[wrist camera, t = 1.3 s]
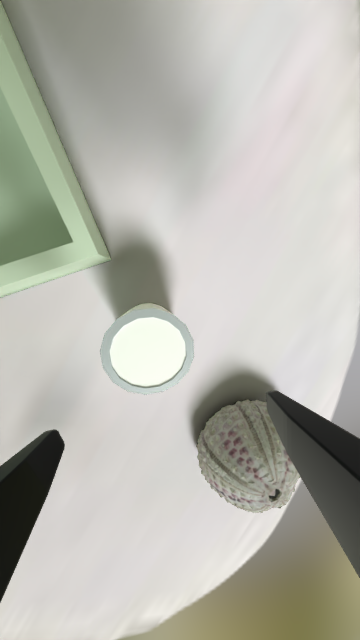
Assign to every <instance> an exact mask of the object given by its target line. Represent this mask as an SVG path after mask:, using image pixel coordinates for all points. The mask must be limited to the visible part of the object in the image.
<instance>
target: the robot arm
mask: <svg viewBox="0 0 360 640" xmlns="http://www.w3.org/2000/svg"><path fill="white" fill-rule="evenodd" d="M266 404H267V411H268V414H269V416H270V418H271V420H272V422H273V425H274V427H275V429H276V431H277V433H278V435H279V437H280V440H281V442H282V444H283V446H284V448H285V450H286V452H287V454H288V456H289V458H290V460H291V461H292V463H293V465H294V466H295V468H296V470H297V472H298V473H299V475H300V477H301V478H302V480H303V482H304V484H305V485H306V487H307V489H308V490H309V492H310V494H311V496H312V497H313V499H314V501H315V502H316V504H317V506H318V507H319V509H320V511H321V513H322V514H323V516H324V518H325V519H326V521H327V523H328V525H329V526H330V528H331V530H332V531H333V533H334V535H335V537H336V538H337V540H338V542H339V543H340V545H341V547H342V548H343V550H344V552H345V554H346V555H347V557H348V559H349V560H350V562H351V564H352V565H353V567H354V569H355V571H356V573H357V574H358V576H359V578H360V438H358V437H356V436H354V435H353V434H351V433H349V432H348V431H346V430H344V429H342V428H340V427H339V426H337V425H335V424H334V423H332V422H330V421H329V420H327V419H325V418H323V417H322V416H320V415H318V414H316V413H315V412H313V411H311V410H310V409H308V408H306V407H304V406H303V405H301V404H299V403H298V402H296V401H294V400H292V399H291V398H289V397H287V396H285V395H284V394H282V393H280V392H279V391H270V392H267V393H266ZM64 446H65V444H64V441H63V439H62V437H61V436H60V434H59V432H58V431H57V430H49V431H46V432H44V433H43V434H41V435H40V436H39V437H37V438H36V439H35V440H34V441H32V442H31V443H30V444H28V445H27V446H26V447H24V448H23V449H22V450H21V451H19V452H18V453H17V454H15V455H14V456H13V457H12V458H10V459H9V460H8V461H6V462H5V463H4V464H2V465H1V466H0V602H1V600H2V598H3V596H4V593H5V591H6V589H7V586H8V584H9V582H10V580H11V577H12V575H13V573H14V570H15V568H16V566H17V564H18V561H19V559H20V557H21V554H22V552H23V550H24V548H25V545H26V543H27V541H28V539H29V536H30V534H31V532H32V529H33V527H34V525H35V523H36V520H37V518H38V516H39V513H40V511H41V509H42V507H43V504H44V502H45V500H46V497H47V495H48V492H49V490H50V487H51V484H52V482H53V479H54V476H55V473H56V470H57V468H58V465H59V462H60V459H61V456H62V453H63V451H64Z"/></svg>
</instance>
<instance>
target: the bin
mask: <svg viewBox="0 0 360 640" xmlns="http://www.w3.org/2000/svg"><path fill="white" fill-rule="evenodd" d="M110 260H111V258H110V255H109V253H108V251H107V248H106V246H105V244H104V241H103V239H102V237H101V234H100V232H99V230H98V227H97V225H96V223H95V220H94V218H93V216H92V213H91V211H90V209H89V206H88V204H87V202H86V199H85V197H84V195H83V192H82V190H81V188H80V185H79V183H78V181H77V178H76V176H75V173H74V171H73V169H72V166H71V164H70V162H69V159H68V157H67V155H66V152H65V150H64V148H63V145H62V143H61V141H60V138H59V136H58V134H57V131H56V129H55V127H54V124H53V122H52V120H51V117H50V115H49V113H48V110H47V108H46V106H45V103H44V101H43V99H42V96H41V94H40V92H39V89H38V87H37V85H36V82H35V80H34V78H33V75H32V73H31V70H30V68H29V66H28V63H27V61H26V59H25V56H24V54H23V52H22V49H21V47H20V45H19V42H18V40H17V38H16V35H15V33H14V31H13V28H12V26H11V24H10V21H9V19H8V17H7V14H6V12H5V10H4V7H3V5H2V3H1V0H0V298H1V297H4V296H7V295H10V294H13V293H16V292H19V291H22V290H25V289H28V288H31V287H34V286H36V285H39V284H42V283H45V282H48V281H51V280H54V279H57V278H60V277H63V276H66V275H69V274H72V273H75V272H78V271H80V270H83V269H86V268H89V267H92V266H95V265H98V264H101V263H104V262H107V261H110Z"/></svg>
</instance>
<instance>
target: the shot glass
mask: <svg viewBox="0 0 360 640" xmlns="http://www.w3.org/2000/svg"><path fill="white" fill-rule="evenodd" d="M100 354H101V360H102V365H103V369H104V370H105V372H106V373H107V375H108V376H109V377H110V379H111V380H112V382H113V383H115V384H116V385H118V386H120V387H121V388H123V389H125V390H126V391H128V392H133V393H138V394H144V395H147V394H153V393H159V392H163V391H165V390H167V389H169V388H171V387H172V386H174V385H176V384H178V382H179V381H180V380H181V379H182V378H183V377H184V376H185V375H186V374H187V372H188V371H189V368H190V366H191V363H192V360H193V358H194V344H193V338H192V336H191V334H190V332H189V330H188V328H187V326H186V325H185V324H184V323H183V322H182V321H180V320H179V319H178V318H177V317H176V316H174V315H173V314H172V313H171V312H169V311H168V310H166V309H165V308H163V307H162V306H159V305H156V304H153V303H145V304H139V305H138V306H136V307H134V308H132V309H130V310H129V311H127V312H126V313H125V314H123V315H122V316H120V317H119V318H118V319H117V320H116V321H115V322H114V323H113V324H112V326H111V327H110V328H109V329H108V330H107V331H106V333H105V335H104V338H103V342H102V346H101V349H100Z"/></svg>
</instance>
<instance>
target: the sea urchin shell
mask: <svg viewBox="0 0 360 640" xmlns="http://www.w3.org/2000/svg"><path fill="white" fill-rule="evenodd" d="M197 441H198V445H197V448H198V456H197V457H198V460H199V466H200V468H201V469H202V471H201V474H203V475H204V476H205V480H207V482H208V483H210V485H211V489H214V490H215V491H216V492H218V494H219V495H220V497H224V498H225V500H226V501H227V502H230V503H231V504H232V505H234V506H236V507H237V508H241V509H243V510H245V511H248V512H253V513H258V512H261V513H262V512H263V511H267V510H269V509H271V508H281V507H282V506H283V505H286V503H287V502H288V501H289V499H290V497H291V495H292V492H294V491H295V488H294V487H295V484H296V482H297V481H298V479H299V478H300V475H299V473H298V472H297V470H296V468H295V466H294V465H293V463H292V461H291V460H290V458H289V456H288V454H287V452H286V450H285V448H284V446H283V444H282V442H281V440H280V437H279V435H278V433H277V431H276V429H275V427H274V425H273V422H272V420H271V418H270V416H269V414H268V411H267V404H266V402H262V401H258V400H255V401H249V400H248V399H247V400H246V401H245V400H244V401H242V402H240V401H237V402H236V404H235V405H232V406H231V405H228V406H226V407H222V408H221V410H220V411H218V412H217V413H215V415H214V416H212V418H210V419H209V421H208V422H206V426H205V429H204V430H202V431H201V434H200V435H199V439H198V440H197Z"/></svg>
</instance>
